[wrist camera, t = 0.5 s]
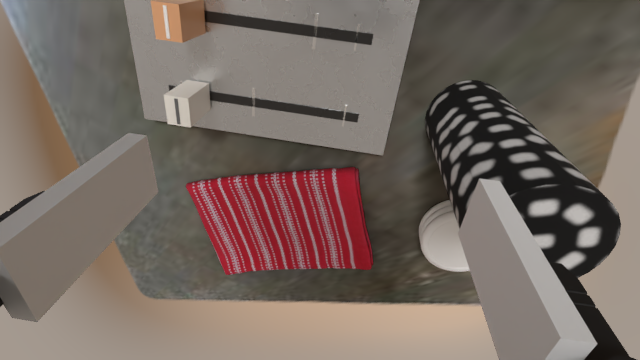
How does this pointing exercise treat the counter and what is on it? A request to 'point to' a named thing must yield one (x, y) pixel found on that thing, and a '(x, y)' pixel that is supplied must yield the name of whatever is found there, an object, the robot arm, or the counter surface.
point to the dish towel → (285, 220)
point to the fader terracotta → (178, 19)
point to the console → (284, 67)
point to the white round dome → (442, 238)
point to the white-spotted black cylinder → (519, 174)
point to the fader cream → (187, 103)
